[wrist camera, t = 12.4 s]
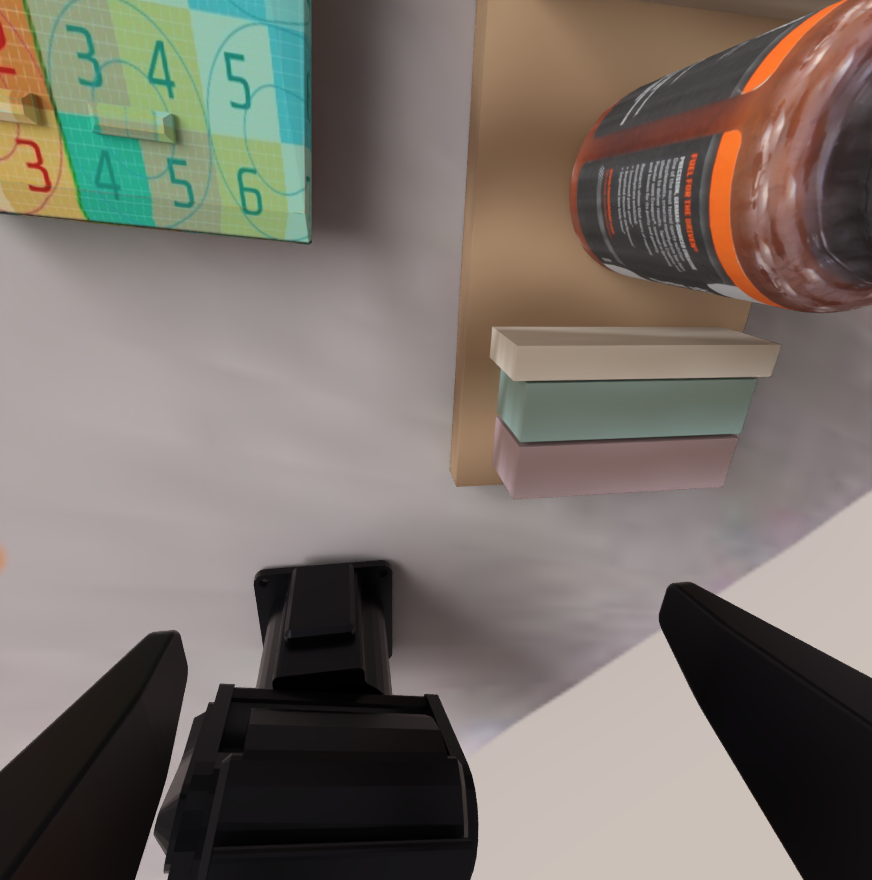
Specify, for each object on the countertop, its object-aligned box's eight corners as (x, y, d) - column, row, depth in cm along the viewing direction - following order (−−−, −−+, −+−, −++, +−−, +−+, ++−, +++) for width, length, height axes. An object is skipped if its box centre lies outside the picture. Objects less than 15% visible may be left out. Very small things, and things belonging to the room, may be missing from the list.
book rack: (680, 459, 25) (746, 507, 21) (449, 470, 23) (472, 526, 19) (880, -252, 15) (1086, -429, 11) (496, -347, 12) (568, -612, 8)
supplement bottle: (623, 308, 19) (938, 415, 9) (528, 188, 17) (815, 149, 7) (746, 186, 18) (1270, 152, 8) (664, 38, 15) (1273, -293, 5)
